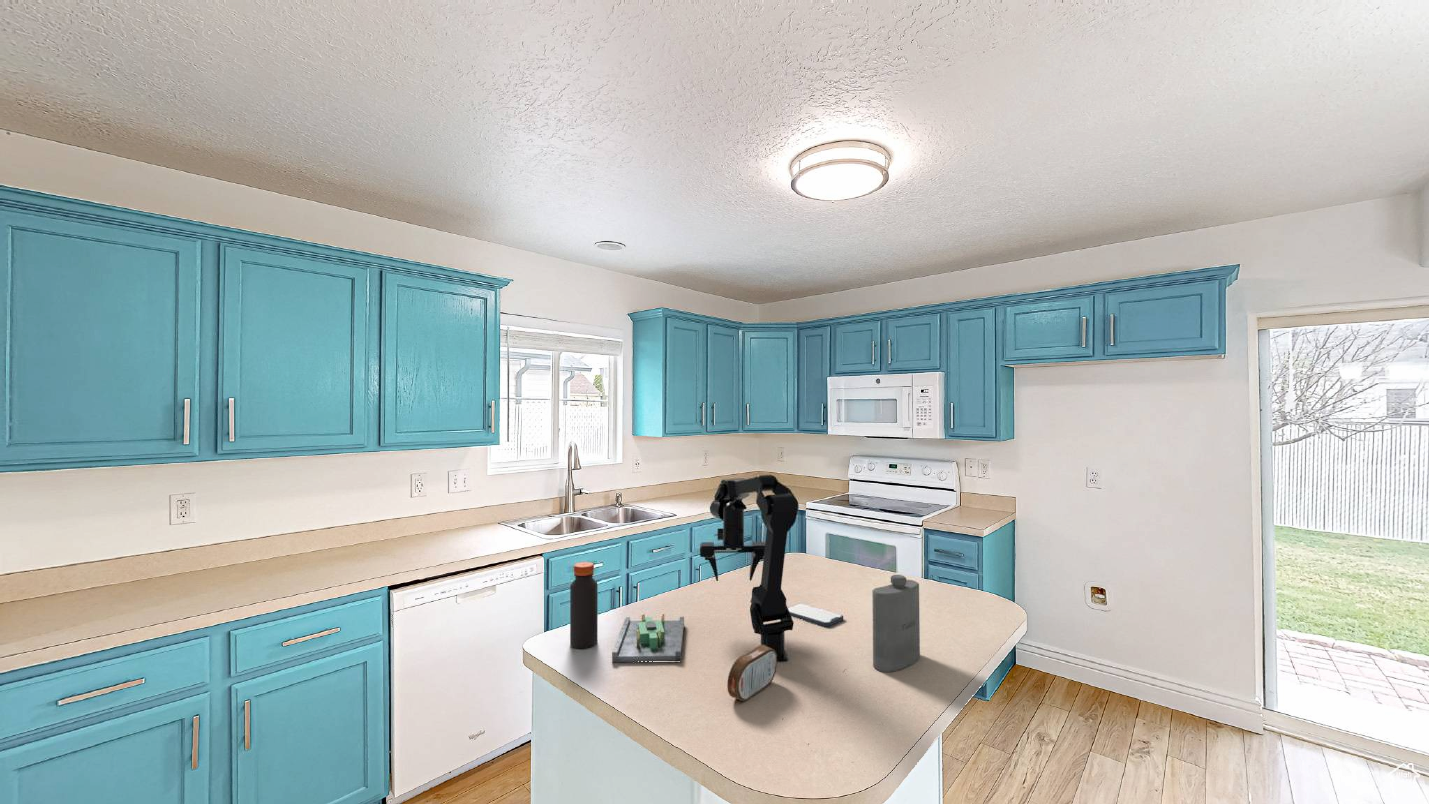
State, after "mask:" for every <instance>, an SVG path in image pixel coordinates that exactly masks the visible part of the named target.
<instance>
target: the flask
mask: <svg viewBox="0 0 1429 804" xmlns="http://www.w3.org/2000/svg"><path fill="white" fill-rule="evenodd" d="M871 595H872V667H874V669H876V670H877V671H880V672H882V673H893V672H896V671H900V670H903V669H906V668H907V667H910V666H911V665H914V663H915V662H917V661H918V660H919V659H920V657H921V656H920V655H921V650H920V649H921V647H920V646H921V641H920V638H921V637H920V636H921V634H920V633H921V631H920V629H921V628H920V622H921V621H920V583H919V582H917V581H915V580H912V579H907V577H906V576H904V575H902V574H893V575H891V576H890V584H888V585H885V586H880V587H875V588H874V589H872V594H871Z"/></svg>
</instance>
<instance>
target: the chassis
mask: <svg viewBox="0 0 1429 804" xmlns="http://www.w3.org/2000/svg"><path fill="white" fill-rule="evenodd" d="M645 617H646V616H645V613H642V614H641V620H631V617H630V616H628V617H627V616H626V617H625V618H624V621H623V624H622V625H621V626H622V627H621V629H620V631H619V633H618V635H617V639H616V641H615V644H614V646H613V649H612V651H611V652H612V653H611V654H612V655H611V660H612V661H611V663H612V664H616V663H615V662H638V661H639V662H641V661H643V662H645V661H647V662H649V661H652V662H653V661H681V662H682V654H681V653H682V652H683V643H682V642H684V633H683V632H684V631H685V616H679V620H665V614H664V613H661V615H660V617H661V620H660V621H661V622H662V625H663V628H664V632H665V642H661V630H658V648H654V649H650V646H649V643H648V644H640V631H639V630H638V622H645ZM613 662H614V663H613Z"/></svg>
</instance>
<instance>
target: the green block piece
mask: <svg viewBox="0 0 1429 804" xmlns="http://www.w3.org/2000/svg"><path fill="white" fill-rule="evenodd" d="M638 630H639V631H640V644H648V643H649V646H650V649H654V648H658V630H661V642H665V632H664V628H663V625H662V622H661V620H653V617H652V616H645V622H638Z"/></svg>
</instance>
